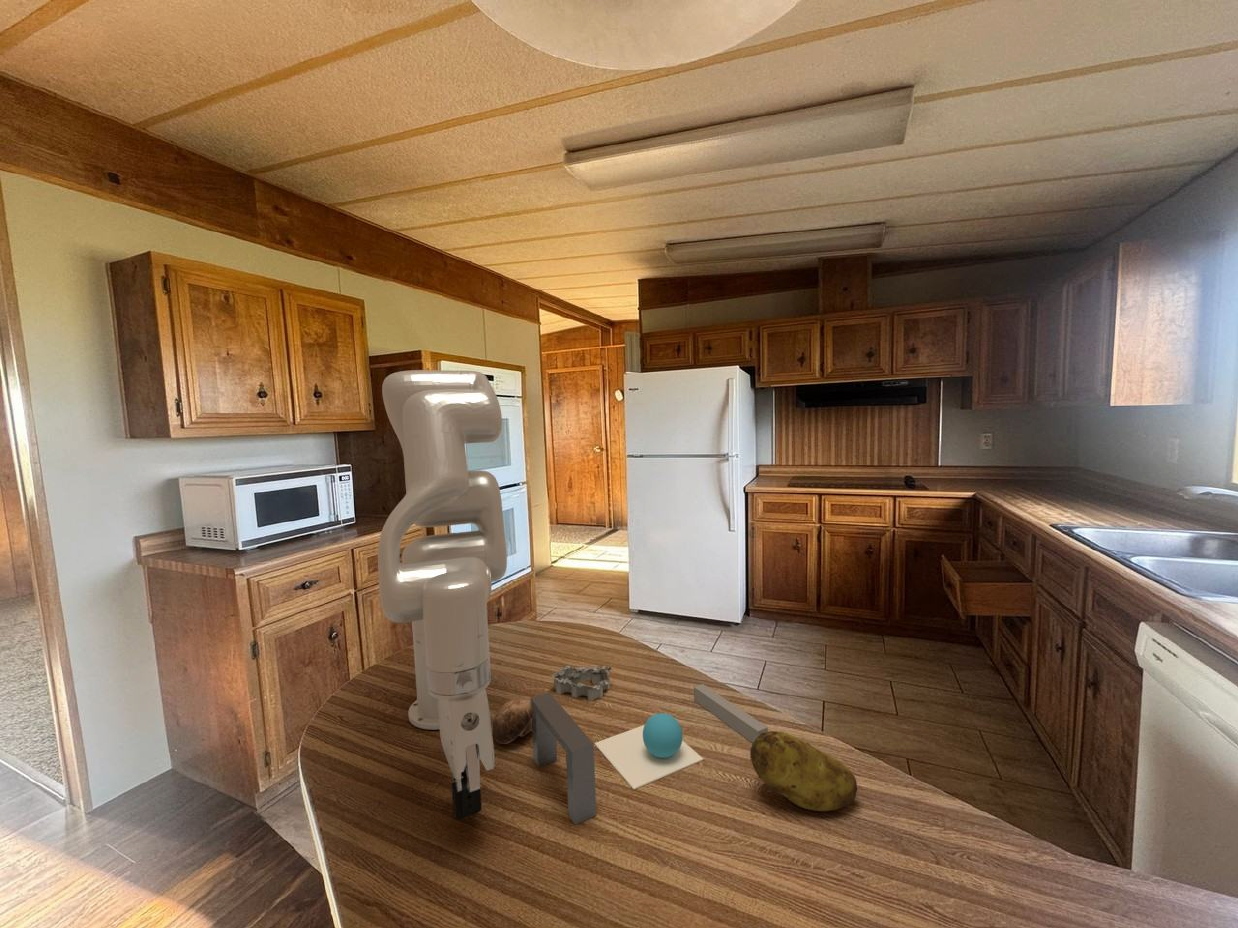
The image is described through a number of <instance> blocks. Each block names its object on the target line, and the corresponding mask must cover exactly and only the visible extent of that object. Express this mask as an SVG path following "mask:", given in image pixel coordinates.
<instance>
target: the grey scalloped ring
mask: <svg viewBox="0 0 1238 928" xmlns="http://www.w3.org/2000/svg"><path fill="white" fill-rule="evenodd" d="M612 670H613V669H612V667H611V666H608V665H605V666H604V665H598V666H597V668H596V667H593V666H591V667H585V666H580V667H579V666H578V667H576V666H575V667H572V666H571V665H566V664H565V667H563V666H562V667H561V668H560V669H559V670H557V671H555V673H553V674H551V675H550V676H551V677H552V679H553V686H554V687H553V689H554V690H556V694H557V695H562V694H564V693H571V697H572V698H573V697H574V698H578V697H579V696H585V697H587V700H588V701H594V700H596V699H602V698H603V696H604V691H609V689H611V677H610V674H611V672H612ZM587 681H589V682H590V681H591V683H592V684H593V686H589V685H588V684H585V683H583V682H587Z"/></svg>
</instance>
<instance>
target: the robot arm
mask: <svg viewBox="0 0 1238 928" xmlns="http://www.w3.org/2000/svg"><path fill="white" fill-rule="evenodd" d="M381 388H382V390H381V391H382V400H383V404H384V408H385V411H386V414H387V417H388V419H389V423H390V424H391V426H392V429H393V431H394V433H395V434H396V436H397V439H398V441H399V444H400V446H401V450H402V455H403V463H404V467H403V468H404V478H405V490H406V494H405V495H404V497H403V498H402V499H401V500H400V501H399V502H398V504H397V505H396V506H395V507H394V509H393V510H392V511H391V512H390V514H389V516H388V517H387V519H386V521H385V522H384V524H383V527H382V531H381V533H380V535H379V540H378V547H377V565H378V566H377V569H378V590H379V592H378V593H379V594H378V595H379V602H380V607H381V610H382V613H383V614H384V616H385V618H387V620H389V621H391V622H393V623H397V624H399V623H400V624H401V623H402V624H404V623H411V627H412V628H411V631H412V641H413V642H412V643H413V656H414V657H413V658H414V669H415V671H414V673H415V674H414V675H415V686H416V689H415V690H416V699H415V701H414V702H413V703H412V704H411V705H410V706H409V708H408V712H407V713H408V720H409V722H410V724H411V725H413V726H414V727H416V728H419V729H421V730H422V729H423V730H433V731H434V730H439V735H440V740H441V741H440V742H441V746H442V750H443V752H444V755H445V759H446V761H447V763H448V767H449V769H450V771H451V772H450V773H451V778H452V783H451V795H452V796H451V797H452V809H453V810H452V812H453V814H454V817H455V819H456V820H457V821H459V820H462V819H465V818H467V817H470V816H473V815H475V814H478V813H480V812H481V811H482V807H483V806H482V794H481V793H482V792H481V775H480V773H481V772H480V771H481V770H480V762H481V764H482V765H483V766H484V769H485V770H486V771H487V772H488V771H492V770H494V768H495V767H496V759H495V749H494V740H493V739H494V738H493V726H492V721H491V719H492V718H491V712H490V705H489V698H488V694H487V688H488V686H489V685H490V684H491V680H492V676H491V675H492V674H491V658H490V657H491V656H490V645H489V643H490V641H489V623H488V606H487V604H488V600H489V599H488V598H489V597H490V596H491V594H492V586H493V583H494V582H497V581H499V580H501V579H503V577H504V576H505V574H506V571H507V569H508V568H507V567H508V555H507V544H506V543H507V542H506V535H505V534H506V533H505V523H504V512H503V504H502V503H503V502H502V495H501V489H500V486H499V483H498V480H497V479H496V477H495V476H494V474H492V473H491V472H489V471H486V470H469V469H468V461H467V453H466V445H465V444H483V443H484V444H485V443H493V442H495V441H496V440H498V438H499V437H500V435H501V432H502V429H503V419H502V418H503V417H502V415H503V414H502V409H501V405H500V402H499V400H498V396H497V394H496V392H495V390H494V388H493V386H492V384H491V382H490V381H489V379H488V377H487V376H486V375H485V373H483V372H480V371H478V370H439V369H435V370H434V369H414V370H413V369H411V370H403V371H397V372H394V373H391V374H388V375H387V376H386V377H385V378H384V380H383V383H382V387H381ZM467 524H468V525H469V524H470V525H471V524H472V525H475V526H476V527H477V529H478V530H471V531H461V532H460V531H459V532H450V533H449V532H447V533H439V534H433V535H426V536H422V537H419V538H416V539H414V540H412V541H410V542H409V543H408V544H407V545H406V546H405V547H404V549H403V552H402V557H400V555H401V554H400V551H401V544H402V540H403V538H404V536H405V534H406V532H407V531H408V530H409V529H410V528H411V527H412V526H414V525H416V526H418V527H420V528H421V527H422V528H437V527H440V528H441V527H449V526H458V525H467ZM400 558H401V559H400Z"/></svg>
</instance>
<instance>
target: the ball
mask: <svg viewBox="0 0 1238 928" xmlns="http://www.w3.org/2000/svg"><path fill="white" fill-rule="evenodd" d="M643 725H644V728H643V741H644V744H645V746H646V748H647V749H648V751H649V752H650V753H651V754H653V755H654V756H656V757H659V758H668V757H670V756H672V755H674V754H675V753H676V752H677V751H678V750H679V748H680V746H681V744H682V741H683V735H684V734H683V729H682V727H681V724H680V722H679V721H678V719H676V718H675V717H674V716H672V715H671V714H669V713H664V712H661V713H655V714H653V715H652V716H650V717H649V718H648V719H647V720H646V722H645V724H643Z"/></svg>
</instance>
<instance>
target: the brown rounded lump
mask: <svg viewBox="0 0 1238 928" xmlns="http://www.w3.org/2000/svg"><path fill="white" fill-rule="evenodd" d="M492 722H493V723H492V733H493V736H494V739H495V741H496V742H497V743H498V744H503V745H507V744H509V743H512V742H514V741H515V740H516V739H517V738H518V737H521V738H522V737H525V736H526V735H527V734H529V733H530V732H532V716H531V699H528V698H521V697H519V698H512V699H511V700H509V701H506V702H505V703H504V704H503V705H502V706H501V707H500V708H499V709H498V711H497V712H496V714H495V716H494V719H493V721H492Z"/></svg>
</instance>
